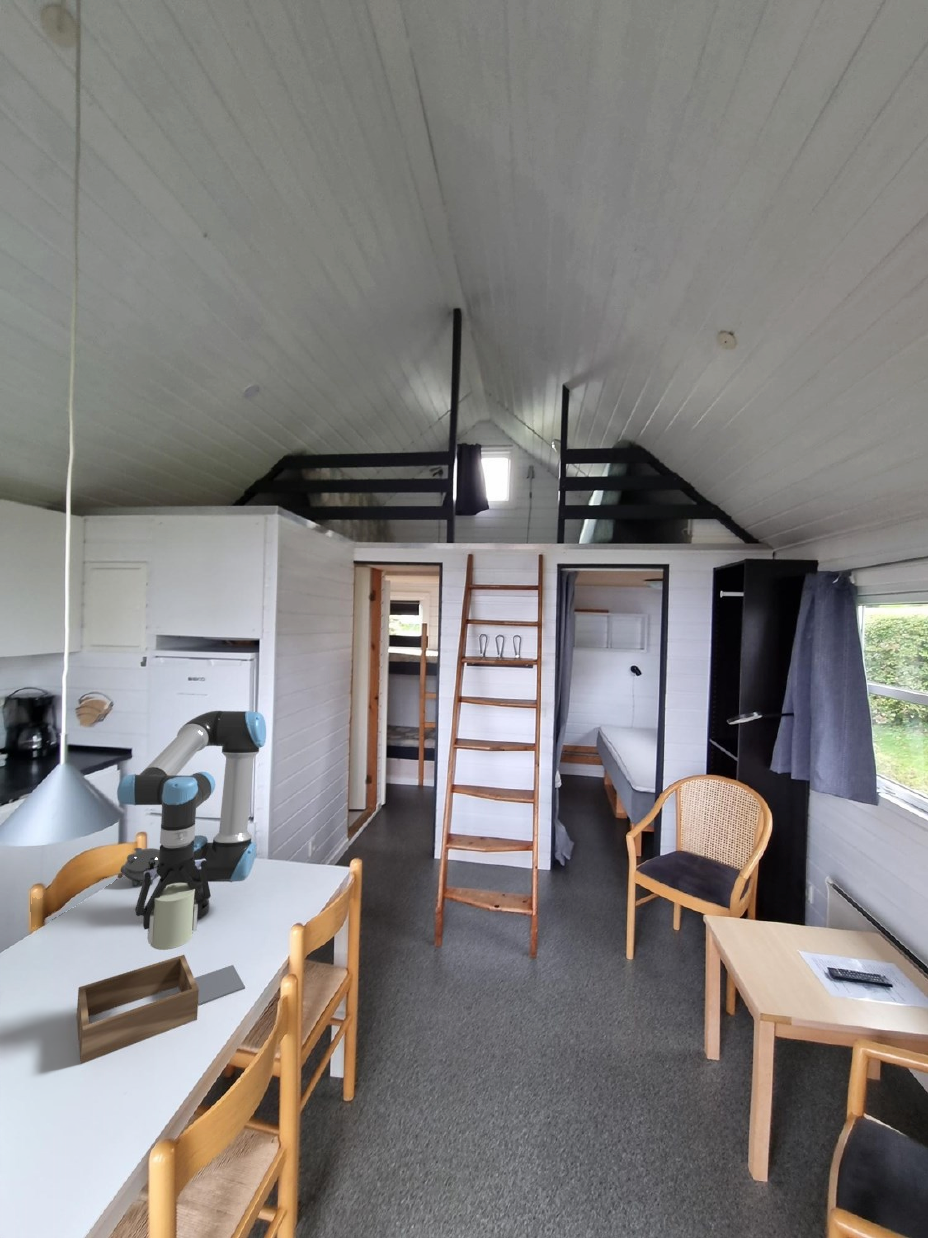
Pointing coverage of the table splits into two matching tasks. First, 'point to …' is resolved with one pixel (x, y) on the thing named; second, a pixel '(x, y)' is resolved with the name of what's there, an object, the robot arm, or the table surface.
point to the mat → (218, 984)
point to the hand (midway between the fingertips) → (172, 934)
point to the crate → (139, 1020)
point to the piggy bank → (140, 864)
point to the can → (173, 917)
